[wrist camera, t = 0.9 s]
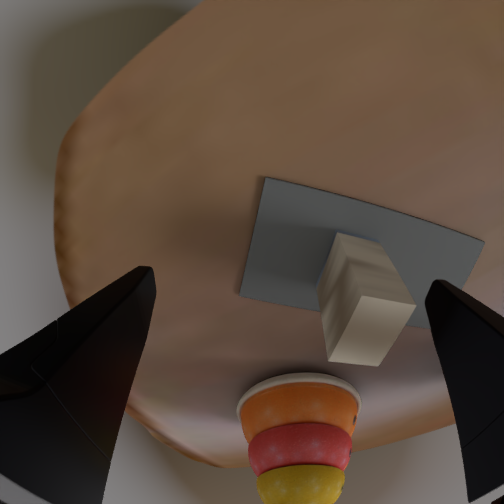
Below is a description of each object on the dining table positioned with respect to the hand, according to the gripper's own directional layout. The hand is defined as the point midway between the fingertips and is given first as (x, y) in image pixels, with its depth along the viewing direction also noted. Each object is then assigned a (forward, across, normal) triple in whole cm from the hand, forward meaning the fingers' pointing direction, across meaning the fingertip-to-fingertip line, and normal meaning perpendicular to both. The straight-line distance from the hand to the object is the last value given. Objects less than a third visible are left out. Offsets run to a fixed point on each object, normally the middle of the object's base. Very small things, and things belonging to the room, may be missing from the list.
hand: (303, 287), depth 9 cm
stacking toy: (+12, -5, +26) cm, 29 cm away
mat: (+12, -8, +7) cm, 16 cm away
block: (+12, -6, +7) cm, 15 cm away
